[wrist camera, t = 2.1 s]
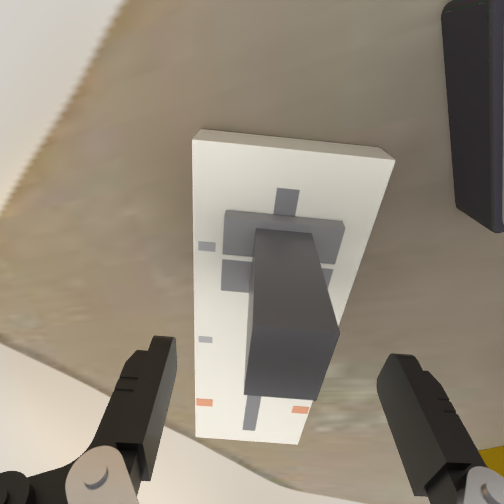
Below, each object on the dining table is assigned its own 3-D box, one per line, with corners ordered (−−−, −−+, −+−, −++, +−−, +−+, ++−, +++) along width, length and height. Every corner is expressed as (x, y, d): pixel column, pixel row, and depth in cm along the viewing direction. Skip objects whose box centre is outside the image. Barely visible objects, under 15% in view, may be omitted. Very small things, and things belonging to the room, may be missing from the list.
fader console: (379, 147, 17) (396, 160, 15) (295, 419, 32) (297, 445, 30) (200, 128, 17) (191, 139, 15) (200, 411, 32) (195, 437, 30)
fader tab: (342, 221, 17) (394, 326, 10) (322, 291, 20) (353, 410, 13) (225, 209, 17) (202, 310, 10) (222, 282, 19) (201, 398, 13)
